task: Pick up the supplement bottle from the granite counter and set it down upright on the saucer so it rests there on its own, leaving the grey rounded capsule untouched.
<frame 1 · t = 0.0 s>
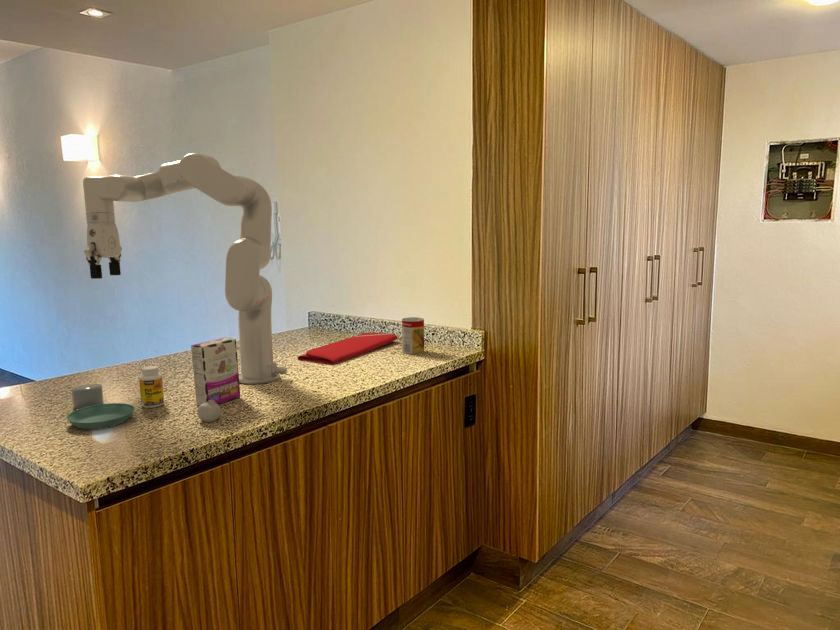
hand: (106, 276, 185), 31 cm above the worktop, tool pointing down, fingers open, 9 cm apart
candy bar box: (218, 402, 165), on the worktop
supplement bottle: (153, 406, 162), on the worktop
dish drying mat: (350, 352, 225), on the worktop
canned food: (413, 352, 221), on the worktop
saucer: (102, 423, 150), on the worktop
garlic: (209, 421, 150), on the worktop
grey rounded capsule: (88, 406, 162), on the worktop
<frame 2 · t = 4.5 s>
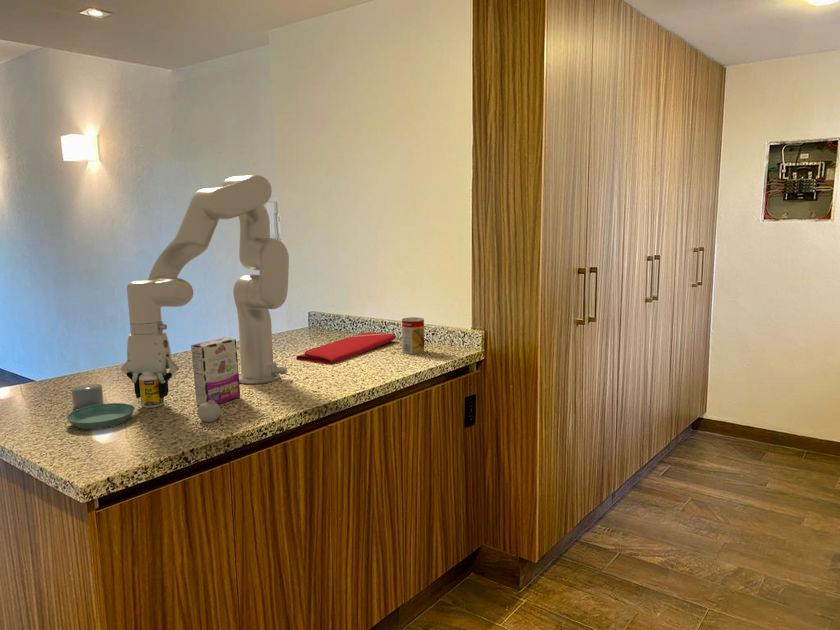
hand: (152, 395, 161), 3 cm above the worktop, tool pointing down, fingers closed on supplement bottle, 5 cm apart
supplement bottle: (152, 406, 162), on the worktop, touching gripper
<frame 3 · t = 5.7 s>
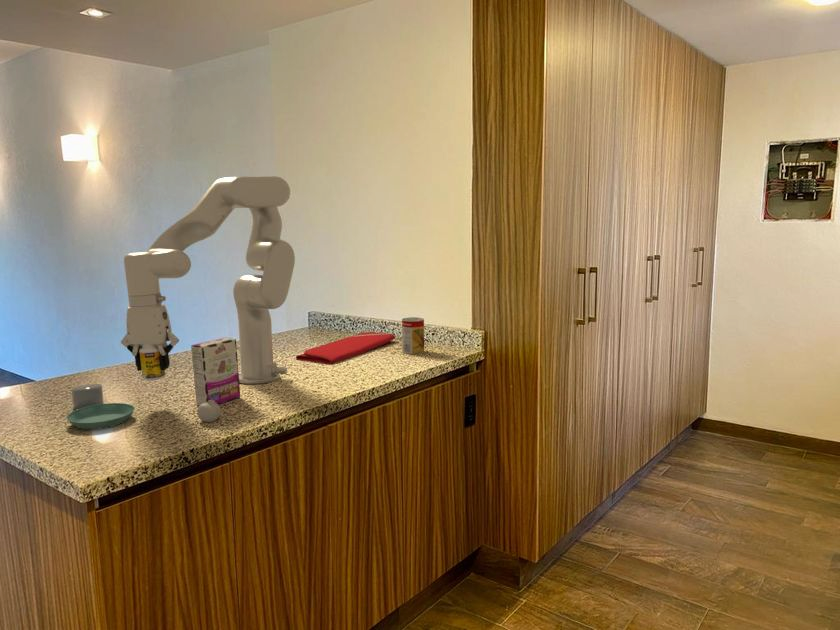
hand: (153, 368, 161), 10 cm above the worktop, tool pointing down, fingers closed on supplement bottle, 5 cm apart
supplement bottle: (154, 378, 161), point 7 cm above the worktop, touching gripper
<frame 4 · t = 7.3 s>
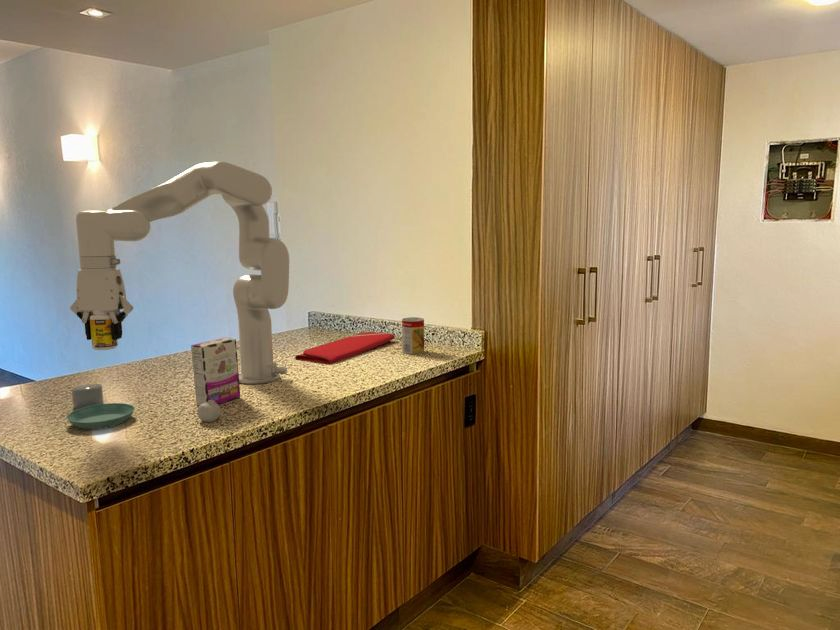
hand: (104, 338, 149), 20 cm above the worktop, tool pointing down, fingers closed on supplement bottle, 5 cm apart
supplement bottle: (105, 349, 149), point 17 cm above the worktop, touching gripper
when the fingers open (6 cm above the worktop, at t = 10.4 s): supplement bottle drops 2 cm, resting on saucer.
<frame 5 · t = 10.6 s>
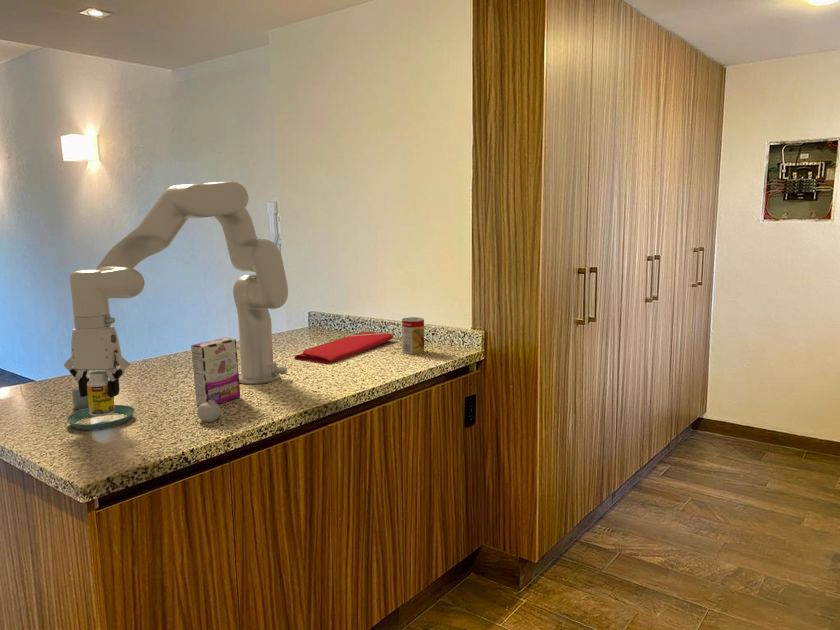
hand: (99, 395, 148), 7 cm above the worktop, tool pointing down, fingers open, 6 cm apart
supplement bottle: (102, 414, 149), point 2 cm above the worktop, touching saucer
saucer: (102, 425, 150), on the worktop, touching supplement bottle
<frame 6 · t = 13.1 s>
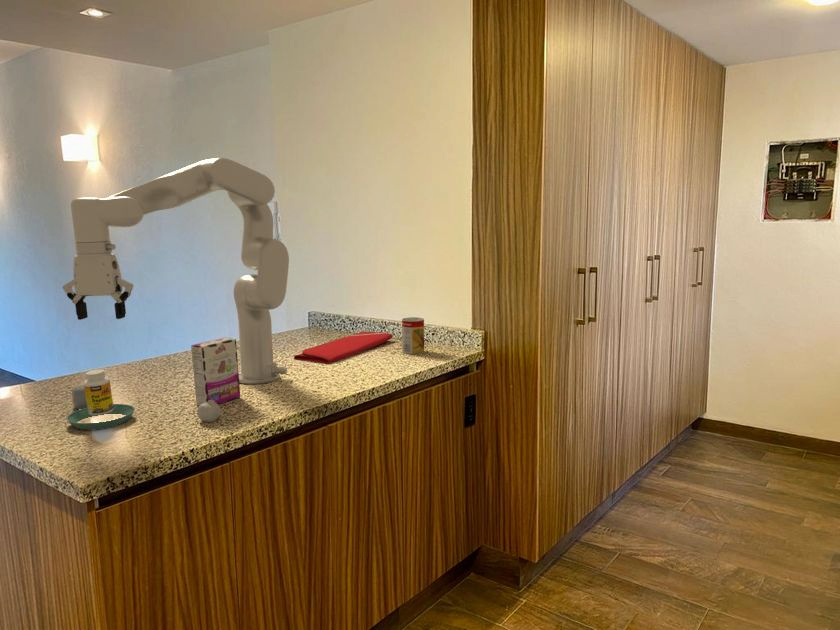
hand: (101, 318, 153), 24 cm above the worktop, tool pointing down, fingers open, 9 cm apart
supplement bottle: (101, 412, 149), point 2 cm above the worktop
saucer: (102, 424, 150), on the worktop
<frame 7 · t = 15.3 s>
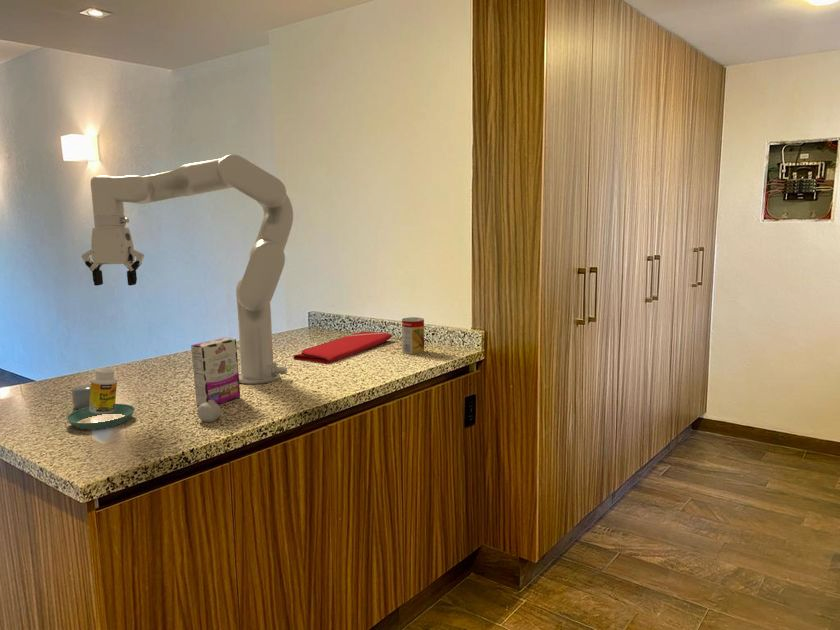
hand: (115, 284, 171), 30 cm above the worktop, tool pointing down, fingers open, 9 cm apart
at the end: supplement bottle 0.2 cm from the saucer (horizontally); supplement bottle touching saucer; supplement bottle tilted 9° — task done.
